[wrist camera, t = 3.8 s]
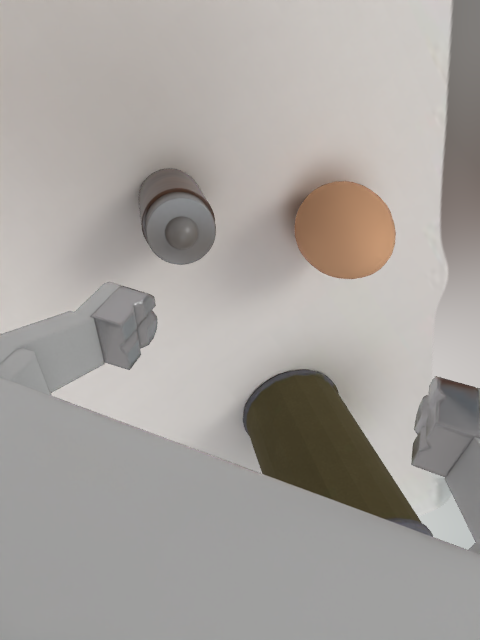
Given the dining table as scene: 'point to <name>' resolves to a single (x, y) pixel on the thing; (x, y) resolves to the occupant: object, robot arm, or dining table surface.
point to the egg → (345, 230)
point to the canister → (321, 446)
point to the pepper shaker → (176, 217)
